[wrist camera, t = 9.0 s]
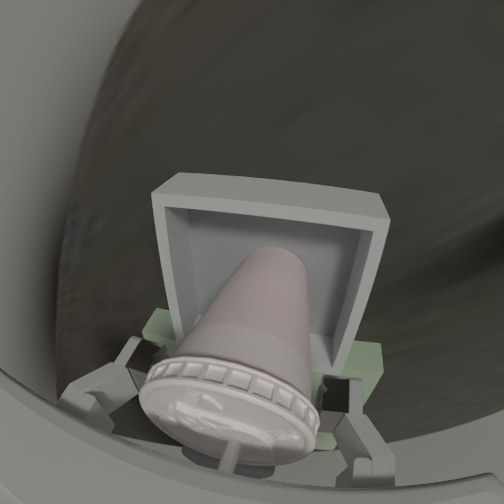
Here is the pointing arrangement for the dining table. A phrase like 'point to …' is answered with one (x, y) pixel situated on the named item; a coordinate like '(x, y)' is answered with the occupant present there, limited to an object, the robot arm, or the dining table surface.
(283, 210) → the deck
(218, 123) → the dining table surface
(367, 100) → the dining table surface
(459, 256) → the dining table surface
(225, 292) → the smoothie
